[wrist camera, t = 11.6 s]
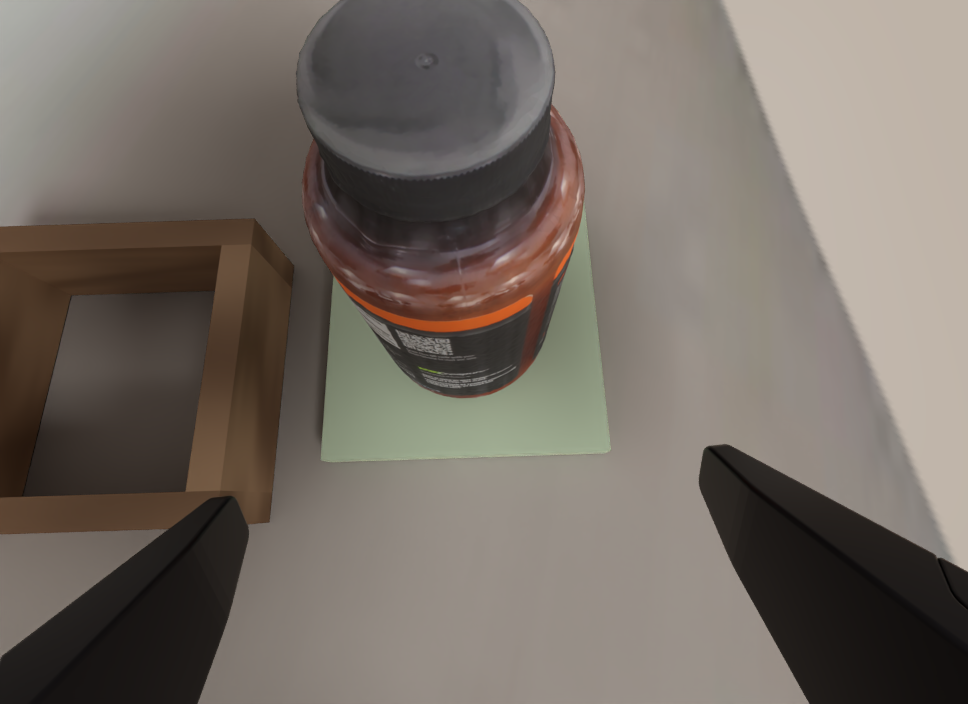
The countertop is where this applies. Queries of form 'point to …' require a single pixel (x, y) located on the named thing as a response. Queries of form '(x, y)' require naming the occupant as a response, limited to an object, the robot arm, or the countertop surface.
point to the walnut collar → (226, 375)
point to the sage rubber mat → (469, 421)
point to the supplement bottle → (441, 181)
